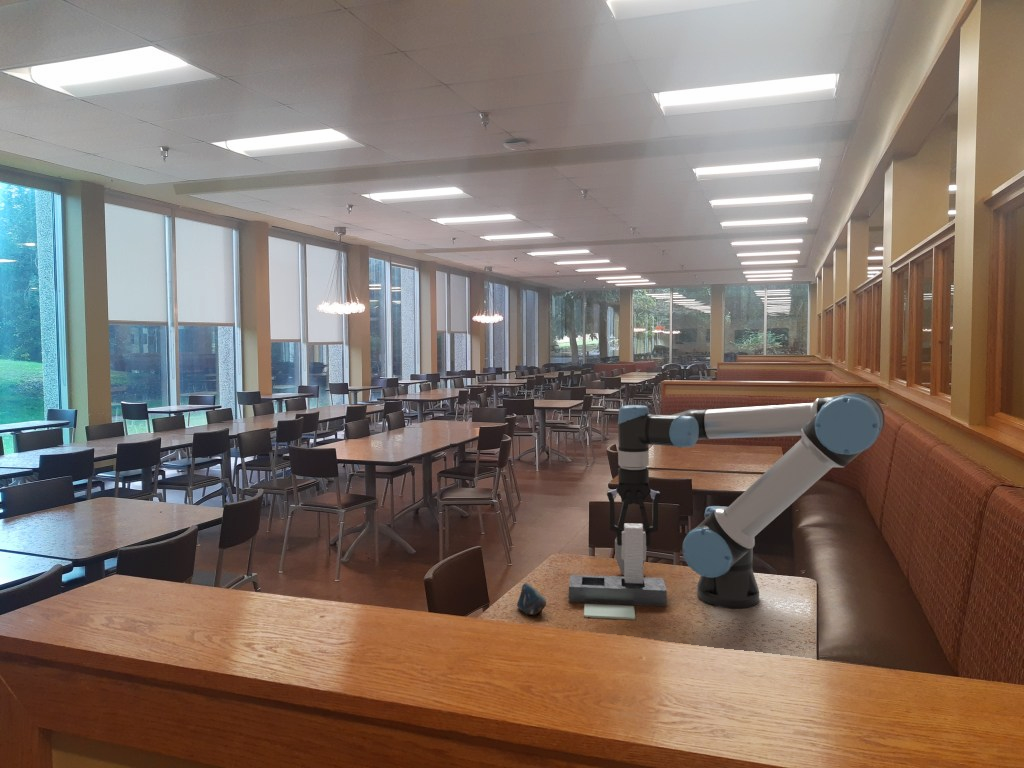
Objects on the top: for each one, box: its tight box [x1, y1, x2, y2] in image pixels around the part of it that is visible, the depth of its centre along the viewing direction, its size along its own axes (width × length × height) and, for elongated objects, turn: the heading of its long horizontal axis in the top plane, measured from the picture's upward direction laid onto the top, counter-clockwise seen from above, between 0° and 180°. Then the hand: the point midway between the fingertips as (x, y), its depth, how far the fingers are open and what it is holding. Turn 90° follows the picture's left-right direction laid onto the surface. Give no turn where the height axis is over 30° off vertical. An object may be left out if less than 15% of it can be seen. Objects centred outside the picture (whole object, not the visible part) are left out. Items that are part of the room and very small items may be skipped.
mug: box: [614, 537, 648, 576], centre depth 191 cm, size 12×9×10 cm
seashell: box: [516, 582, 547, 616], centre depth 167 cm, size 6×9×10 cm
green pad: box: [583, 603, 636, 621], centre depth 165 cm, size 12×7×1 cm, turn 82°
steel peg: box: [623, 522, 644, 584], centre depth 173 cm, size 4×4×14 cm
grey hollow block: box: [568, 574, 668, 607], centre depth 175 cm, size 24×9×4 cm, turn 82°
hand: (633, 557), depth 174 cm, fingers closed on steel peg, 4 cm apart
